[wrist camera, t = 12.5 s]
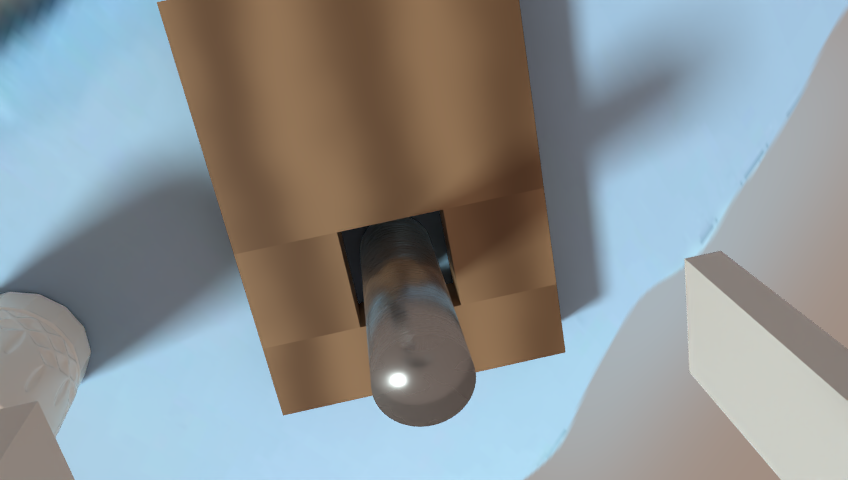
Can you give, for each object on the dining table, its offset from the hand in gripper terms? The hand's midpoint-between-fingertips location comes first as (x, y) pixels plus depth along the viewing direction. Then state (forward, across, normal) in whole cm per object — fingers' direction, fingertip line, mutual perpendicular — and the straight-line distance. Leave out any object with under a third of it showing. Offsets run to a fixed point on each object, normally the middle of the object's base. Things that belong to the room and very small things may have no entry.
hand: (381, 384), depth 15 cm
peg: (+25, +1, -8) cm, 26 cm away
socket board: (+25, +1, -4) cm, 25 cm away
